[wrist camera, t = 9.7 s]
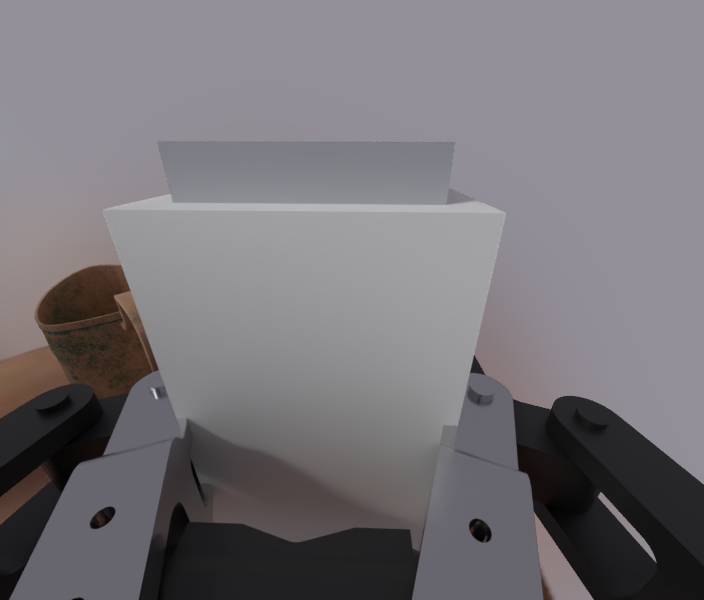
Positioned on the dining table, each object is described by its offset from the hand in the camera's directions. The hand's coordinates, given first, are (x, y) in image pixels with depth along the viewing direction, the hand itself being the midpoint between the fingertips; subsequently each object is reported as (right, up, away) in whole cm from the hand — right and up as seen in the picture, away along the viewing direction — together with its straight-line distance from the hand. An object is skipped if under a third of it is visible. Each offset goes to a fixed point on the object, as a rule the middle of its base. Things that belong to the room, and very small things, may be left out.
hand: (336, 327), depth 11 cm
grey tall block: (0, -7, +1) cm, 7 cm away
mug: (-18, -8, +18) cm, 26 cm away
